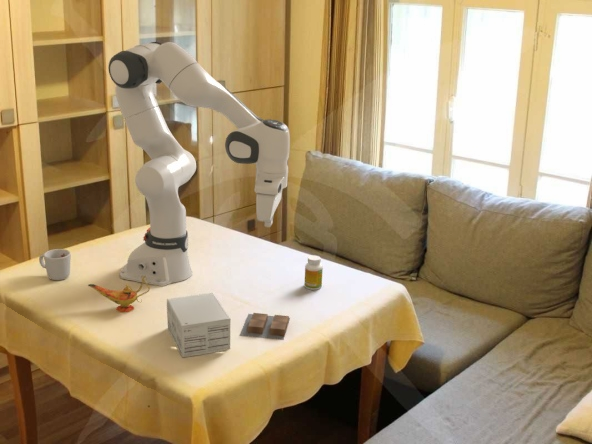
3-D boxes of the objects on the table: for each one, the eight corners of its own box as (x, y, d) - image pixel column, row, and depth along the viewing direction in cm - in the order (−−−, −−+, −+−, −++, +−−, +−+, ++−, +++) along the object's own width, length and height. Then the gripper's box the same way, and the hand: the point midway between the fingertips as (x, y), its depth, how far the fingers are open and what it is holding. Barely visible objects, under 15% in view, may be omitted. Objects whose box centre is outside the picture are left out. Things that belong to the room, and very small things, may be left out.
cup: (32, 277, 233) (30, 254, 230) (49, 268, 240) (47, 245, 237) (61, 284, 229) (59, 260, 227) (77, 274, 236) (75, 251, 234)
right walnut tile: (274, 321, 211) (269, 334, 203) (274, 314, 210) (270, 328, 202) (288, 322, 210) (284, 336, 203) (288, 316, 209) (284, 329, 202)
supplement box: (231, 350, 196) (231, 318, 193) (181, 359, 191) (181, 326, 188) (213, 321, 210) (213, 291, 207) (167, 328, 206) (166, 297, 202)
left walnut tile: (253, 319, 211) (248, 332, 204) (253, 312, 211) (248, 326, 203) (267, 320, 211) (262, 334, 203) (267, 314, 210) (262, 327, 203)
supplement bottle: (320, 291, 231) (321, 262, 228) (302, 289, 232) (304, 260, 229) (323, 284, 236) (324, 255, 233) (306, 282, 237) (307, 253, 234)
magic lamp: (93, 300, 220) (90, 266, 216) (153, 305, 218) (152, 270, 215) (85, 311, 213) (82, 275, 210) (147, 315, 212) (145, 280, 208)
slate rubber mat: (239, 336, 202) (239, 335, 202) (248, 315, 215) (248, 313, 214) (283, 341, 201) (283, 339, 201) (290, 318, 213) (290, 317, 213)
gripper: (267, 167, 218) (264, 211, 223) (253, 188, 199) (250, 236, 204) (288, 169, 218) (285, 214, 222) (276, 191, 199) (273, 239, 203)
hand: (268, 225), depth 213 cm, fingers closed
